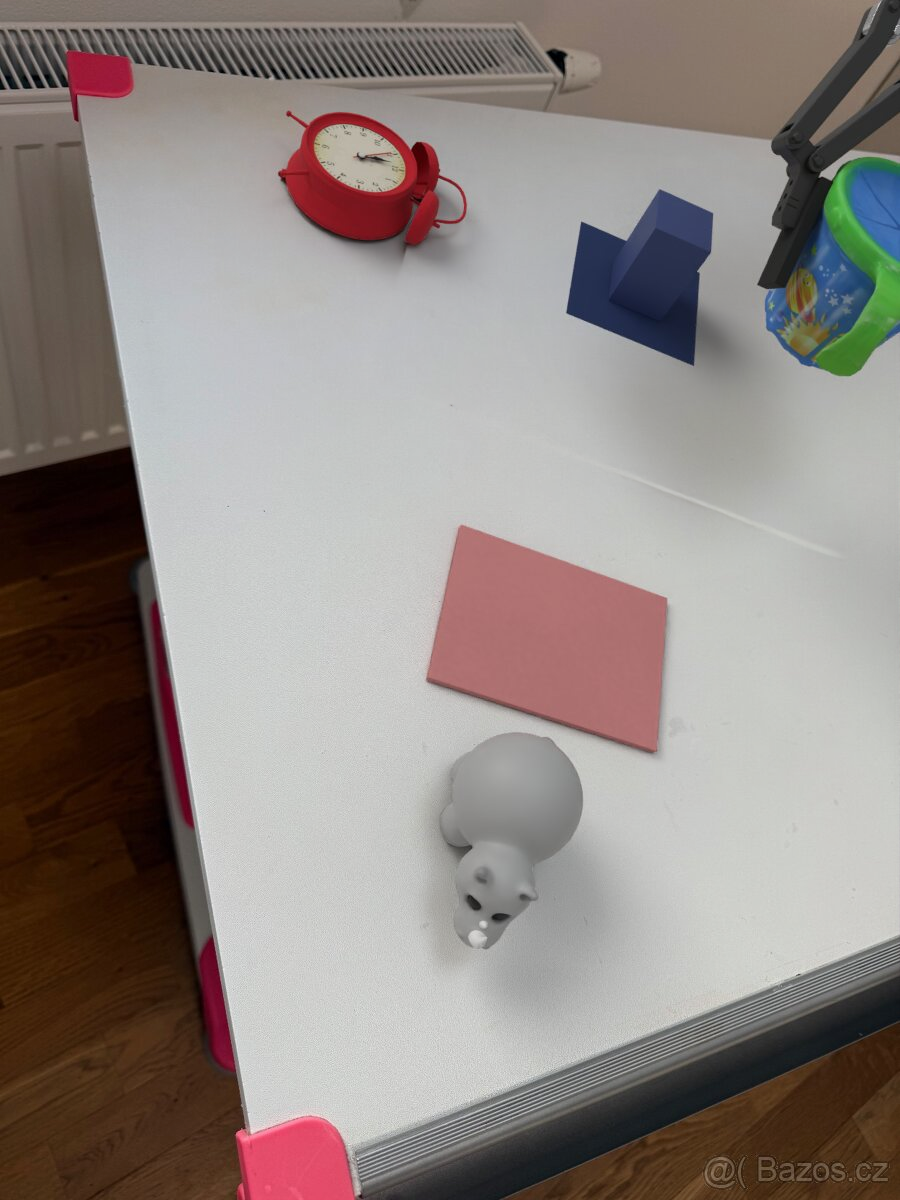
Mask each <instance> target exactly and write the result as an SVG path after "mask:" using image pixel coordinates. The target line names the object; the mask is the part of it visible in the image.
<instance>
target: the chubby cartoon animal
mask: <svg viewBox="0 0 900 1200" xmlns="http://www.w3.org/2000/svg"><path fill="white" fill-rule="evenodd" d="M450 778H451V779H450V780H451V781H452V784H453V785H452V792H451V802H450V803H448V805H447V806H446V807H445V808H443V810H442V811H441V813H440V816H439V819H438V825H439V826H438V827H439V831H440V833H441V836H442V837H443V839H445V841H446V842H447V843H449V844H450V845H451V846H453V847H456V848H457V847H459V848H464V847H467V846H471V847H472V848H470V850H469V851H468V852H467V853H465V855H463V857H462V858H461V860H460V862H459V864H458V866H457V869H456V872H455V877H454V884H455V889H456V892H457V895H458V901H459V902H458V904H457V906H456V908H455V911H454V913H453V919H452V920H453V921H452V922H453V928H454V931H455V933H456V935H457V937H458V938H459V939H460V941H462V943H464V944H465V945H466V946H467V947H470V948H472V949H483V950H489V949H490V948H491V947H493V946H494V945H495V944H497V943H498V941H500V940H501V938H502V936H503V934H504V932H505V931H506V929H507V927H508V926H509V924H511V923H512V922H513V921H514V920H515V919H516V918H518V916H520V915H521V914H522V913H523V912H525V910H526V909H527V908H528V907H529V906H530V904H531V903H532V902H536V901H538V899H539V894H538V892H537V890H536V879H535V874H534V869H533V867H534V866H535V865H536V864H538V863H541V862H544V861H546V860H549V859H550V858H553V856H555V855H557V854H558V853H559V852H560V851H562V849H563V848H565V847H566V846H567V844H569V842H570V841H571V839H572V838H573V836H574V835H575V833H576V831H577V829H578V827H579V825H580V822H581V818H582V815H583V809H584V791H583V786H582V781H581V778H580V776H579V773H578V771H577V768H576V767H575V764H574V763H573V762H572V760H571V759H570V757H569V756H568V755H567V754H566V753H565V752H564V751H563V750H562V749H561V748H560V747H559V746H557V745H556V743H555V741H554V740H553V739H551V738H550V737H549V736H539V735H536V734H533V733H528V732H520V731H519V732H518V731H516V732H514V731H513V732H504V733H500V734H497V735H495V736H491V737H489V738H487V739H485V740H483V741H482V742H480V743H479V744H478V745H476V746H475V747H474V748H473V749H472V750H470V751H468V752H466V753H463V754H462V755H461V756H459V757H458V758H457V759H456V760H455V761H454V763H453V764H452V767H451V770H450Z"/></svg>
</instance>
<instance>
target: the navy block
mask: <svg viewBox="0 0 900 1200" xmlns="http://www.w3.org/2000/svg"><path fill="white" fill-rule="evenodd" d="M713 225H714V213H713V212H711V211H710V210H708V209H706V208H703V207H701V206H698V205H696V204H694V203H692V202H689V201H688V200H685V199H683V198H681V197H679V196H677V195H674V194H672V193H669V192H667V191H665V190H664V189H661V188H659V189H658V191H657V192H656V193H655V195H654V197H653V199H652V200H651V201H650V203H649V205H648V206H647V208H646V209H645V211H644V212H643V214H642V215H641V217H640V219H639V220H638V222H637V224H636V225H635V227H634V228H633V230H632V232H631V233H630V235H629V236H628V238H627V239H626V240H625V241H626V243H625V244H624V246H623V247H622V249H621V251H620V252H619V254H618V255H617V257H616V258H615V260H614V262H613V269H612V276H611V284H610V291H609V299H608V300H609V301H612V302H614V303H617V304H619V305H621V306H624V307H626V308H629V309H631V310H633V311H636V312H638V313H640V314H643V315H645V316H648V317H650V318H652V319H655V320H657V321H661V320H662V319H663V317H664V316H665V315H666V313H667V312H668V310H669V309H670V308H671V306H672V305H673V304H674V302H675V301H676V300H677V298H678V297H679V296H680V294H681V293H682V291H683V290H684V289H685V287H686V286H687V285H688V283H689V282H690V281H691V279H692V278H693V277H694V275H695V274H696V272H699V270H700V269H701V267H702V266H703V265H704V263H705V262H706V261H707V259H708V258H709V256H710V255H711V254H712V248H713V247H712V246H713V228H714V227H713Z"/></svg>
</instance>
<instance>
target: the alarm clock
mask: <svg viewBox="0 0 900 1200" xmlns="http://www.w3.org/2000/svg"><path fill="white" fill-rule="evenodd" d="M285 116H286V117H288V118H292V119H293V120H294V121H295V122H297V123H298V124H299V125H301V126H302V127H303V128H304V129H305V130H304V131H303V133H302V136H301V139H300V145H299V148H298V149H297V150H296V151H294V152H293V154H292V155H291V156H290V158H289V159H288V162H287V164H286V165H287V166H286V169H285V168H282V169H281V170H279V171H278V172H277V176H278V177H280V178H285V184H286V188H287V191H288V193H289V195H290V197H291V199H292V200H293V201H294V203H295V205H296V206H297V207H298V208H299V209H300V211H301V212H302V213H303V214H305V216H307V217H308V218H309V219H311V220H312V221H313V222H314V223H316V224H318V225H319V226H321V227H322V228H324V229H326V230H328V231H330V232H332V233H335V234H336V235H340V236H342V237H346V238H349V239H355V240H362V241H364V240H365V241H376V240H377V241H378V240H384V239H387V238H390V237H391V238H392V237H393V236H395V235H397V234H398V233H400V232H401V231H402V230H404V229H405V227H406V226H408V223H409V222H410V220H411V217H412V216H413V210H414V204H415V205H417V206H418V208H417V209H416V212H415V214H414V216H413V218H412V220H411V223H410V226H409V227H408V229H407V233H406V235H405V238H404V242H406V243H407V244H410V245H412V246H415V245H419V244H420V243H422V242H423V241H424V240H425V238H426V237H427V236H428V235H429V233H430V231H431V230H432V228H433V227H434V228H436V229H440V228H441V224H445V225H457V224H459V223H461V222H462V221H463V220H464V218H465V217H466V215H467V206H468V204H467V197H466V194H465V192H464V190H463V189H462V187H461V186H460V184H458V183H457V182H455V181H454V180H452V179H451V178H448V177H446V176H443V175H440V173H441V168H440V163H439V158H438V154H437V152H436V150H435V148H434V147H433V146H432V145H431V144H430V143H428V142H425V141H416V142H414V144H413V145H412V146H411V148H410V146H409V145H408V144H407V143H406V141H405V140H404V139H403V138H402V137H401V136H400V135H399V134H398V133H396V132H395V131H394V130H393V129H391V128H390V127H388V126H387V125H385V124H384V123H382V122H379V121H377V120H376V119H374V118H372V117H371V118H370V117H369V116H366V115H363V114H359V113H353V112H347V111H344V112H343V111H334V112H328V113H324V114H321V115H319V116H317V117H315V118H314V119H312V120H311V121H310V122H309V124H308V123H306V122H305V121H303V120H302V119H300V118H298V117H296V116H295V115H294V114H293V113H292V111H291V110H286V112H285ZM439 179H440V180H442V181H445V182H447V183H449V184H450V185H452V186H454V187H455V188H456V189H457V190H458V191H459V193H460V195H461V197H462V204H463V210H462V214H461V216H460V217H458V218H457V219H453V220H447V219H439V218H437V216H438V212H439V208H440V199H439V196H438V195H437V193H435V190H436V187H437V185H438V182H439ZM413 197H414V198H415V199H414V198H413ZM418 199H420V200H421V202H420V201H418Z"/></svg>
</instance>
